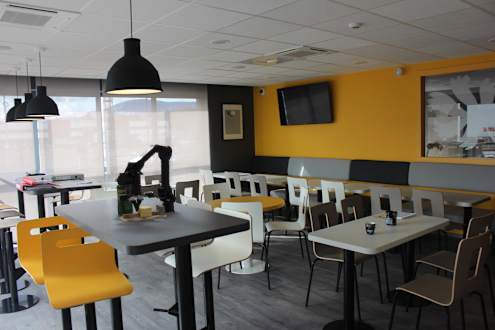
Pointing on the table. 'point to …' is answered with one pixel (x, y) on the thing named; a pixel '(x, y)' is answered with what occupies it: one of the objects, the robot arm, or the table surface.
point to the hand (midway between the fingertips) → (136, 211)
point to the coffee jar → (126, 205)
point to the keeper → (145, 211)
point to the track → (155, 214)
